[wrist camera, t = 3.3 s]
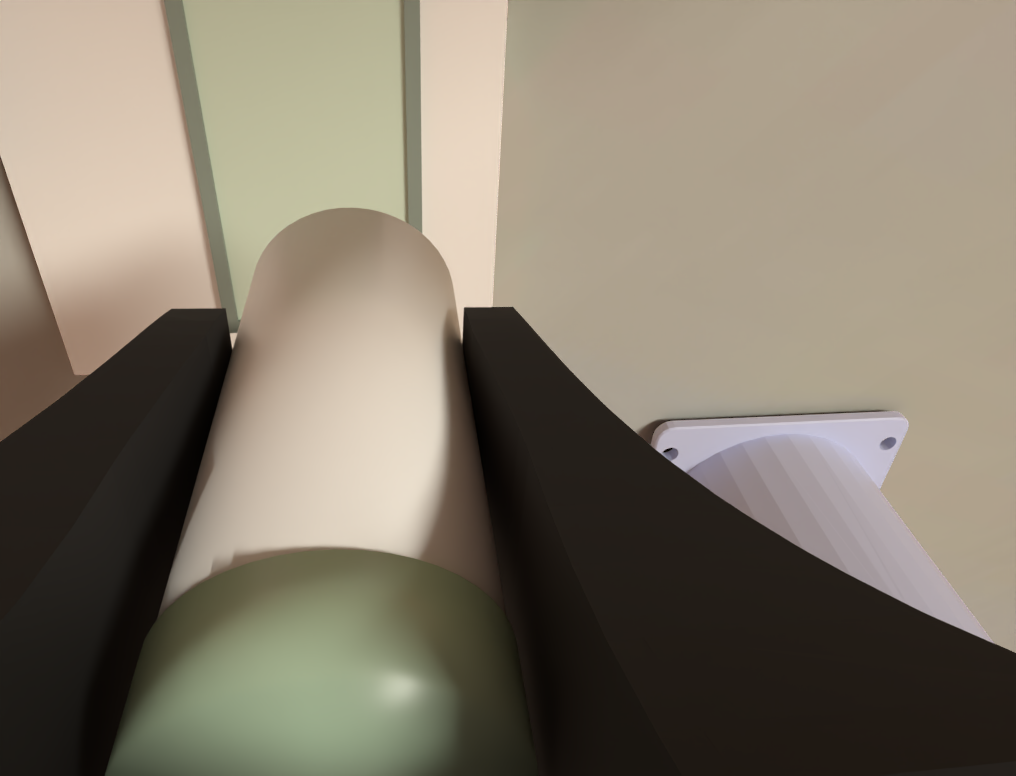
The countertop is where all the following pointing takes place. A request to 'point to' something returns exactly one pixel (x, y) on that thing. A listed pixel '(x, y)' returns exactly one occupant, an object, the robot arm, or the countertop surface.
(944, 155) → the countertop surface
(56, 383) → the countertop surface
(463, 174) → the board
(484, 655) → the green and white capsule
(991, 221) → the countertop surface
